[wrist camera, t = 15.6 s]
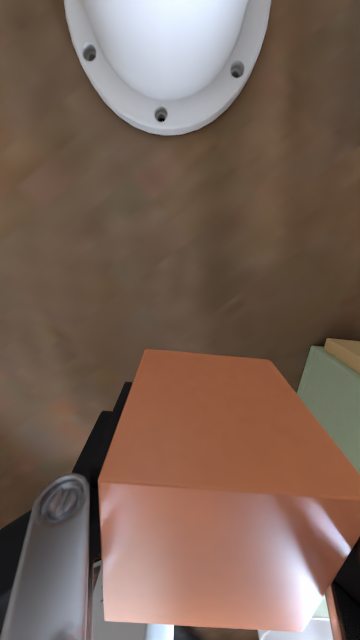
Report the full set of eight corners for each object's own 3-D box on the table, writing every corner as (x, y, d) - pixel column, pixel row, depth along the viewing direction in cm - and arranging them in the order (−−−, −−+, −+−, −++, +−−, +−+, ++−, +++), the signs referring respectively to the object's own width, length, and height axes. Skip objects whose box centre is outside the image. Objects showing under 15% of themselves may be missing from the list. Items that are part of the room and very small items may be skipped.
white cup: (300, 518, 28) (361, 654, 19) (244, 533, 29) (274, 669, 20) (284, 479, 26) (344, 609, 16) (224, 496, 27) (247, 629, 18)
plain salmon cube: (145, 348, 9) (96, 480, 4) (269, 359, 10) (382, 500, 4) (140, 443, 11) (103, 621, 6) (245, 451, 11) (302, 633, 6)
